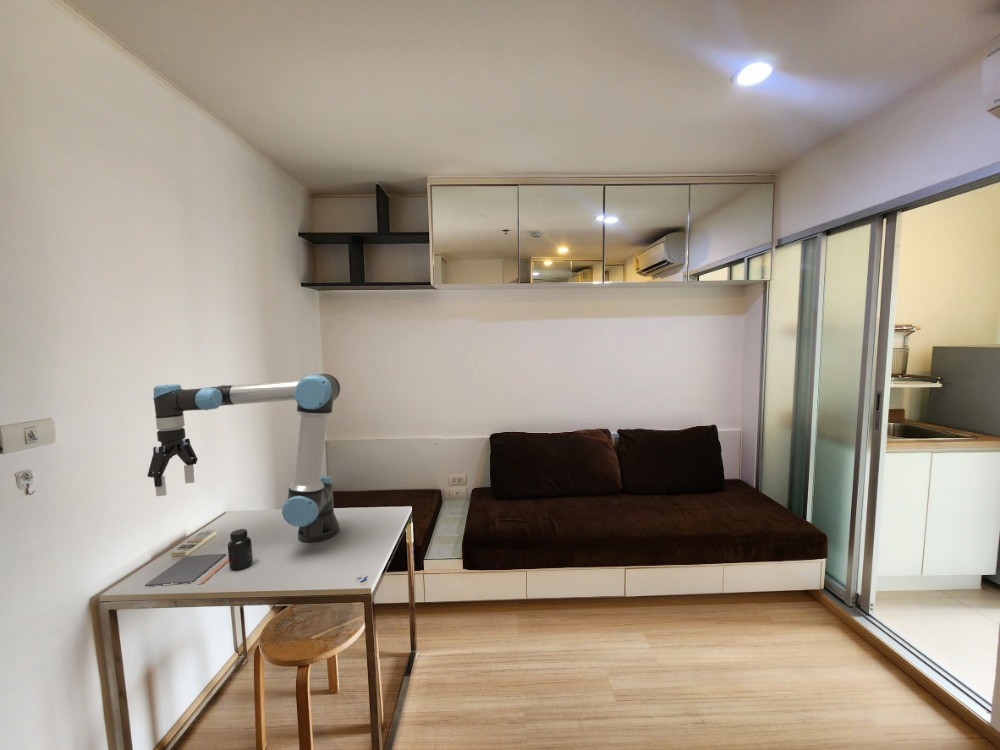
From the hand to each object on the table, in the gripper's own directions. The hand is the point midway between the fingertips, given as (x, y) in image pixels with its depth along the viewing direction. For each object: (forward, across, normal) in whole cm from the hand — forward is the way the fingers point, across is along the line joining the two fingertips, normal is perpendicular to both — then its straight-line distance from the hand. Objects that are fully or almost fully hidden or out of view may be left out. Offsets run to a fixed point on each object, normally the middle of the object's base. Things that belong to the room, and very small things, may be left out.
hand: (176, 488), depth 140 cm
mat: (+26, +7, +6) cm, 28 cm away
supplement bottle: (+27, +6, +23) cm, 36 cm away
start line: (+26, +7, +16) cm, 32 cm away
